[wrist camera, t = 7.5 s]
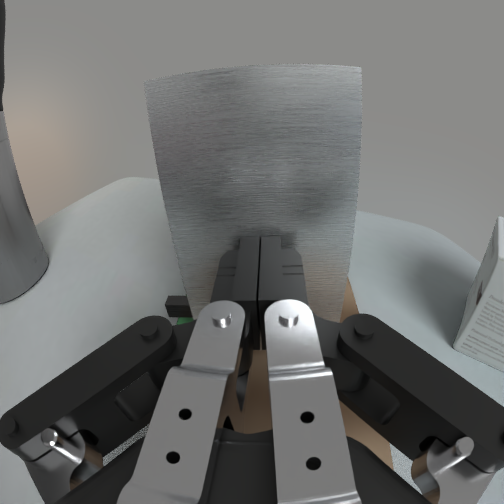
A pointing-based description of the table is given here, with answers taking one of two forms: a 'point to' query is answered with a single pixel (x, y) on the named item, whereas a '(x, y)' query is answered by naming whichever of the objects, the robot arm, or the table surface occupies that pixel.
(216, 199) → the grey rectangular block
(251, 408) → the gauge base
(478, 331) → the skincare box
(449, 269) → the table surface
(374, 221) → the table surface
